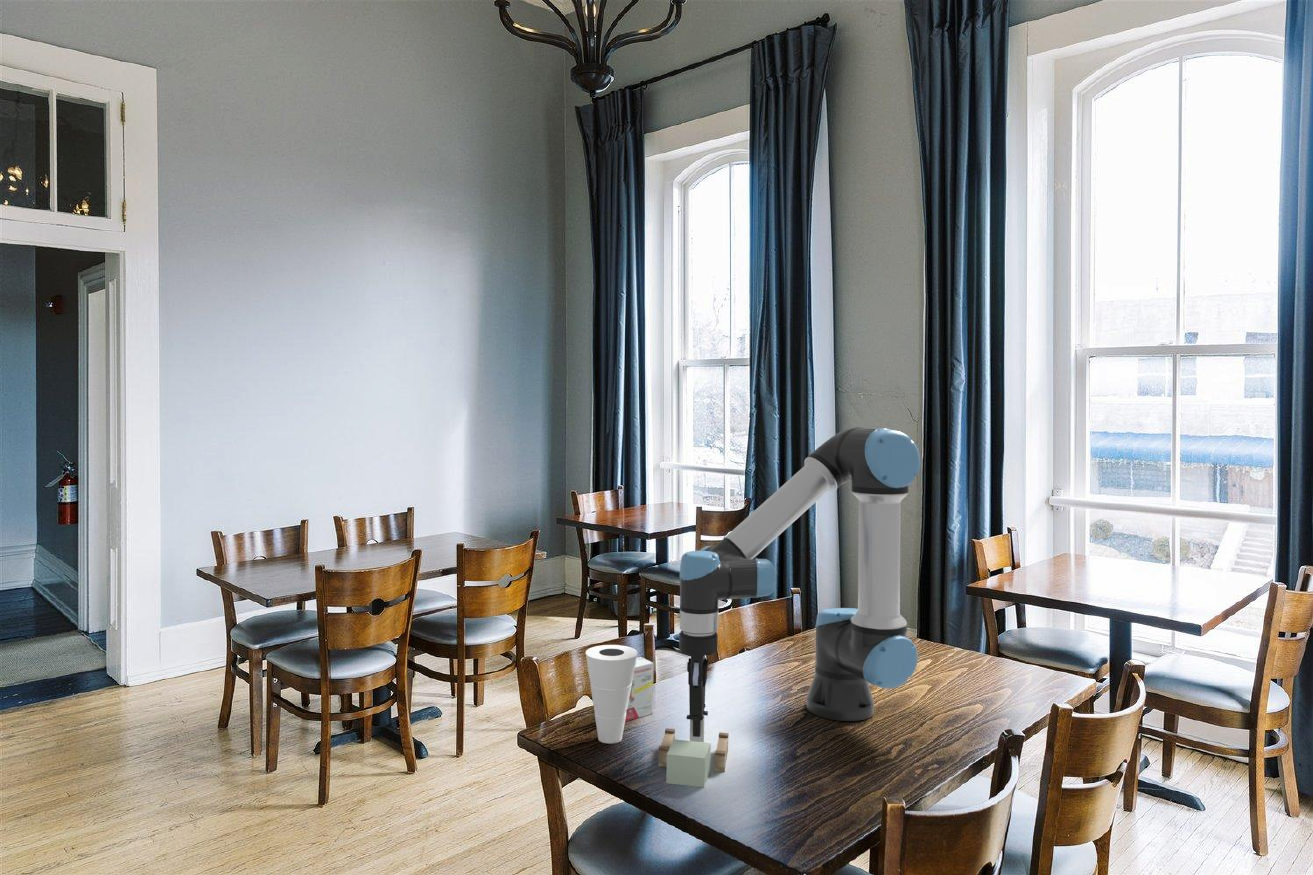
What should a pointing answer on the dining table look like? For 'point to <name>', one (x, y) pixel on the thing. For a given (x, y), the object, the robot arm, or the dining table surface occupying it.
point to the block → (688, 763)
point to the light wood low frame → (719, 753)
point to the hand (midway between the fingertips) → (696, 749)
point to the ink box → (641, 690)
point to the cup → (610, 687)
